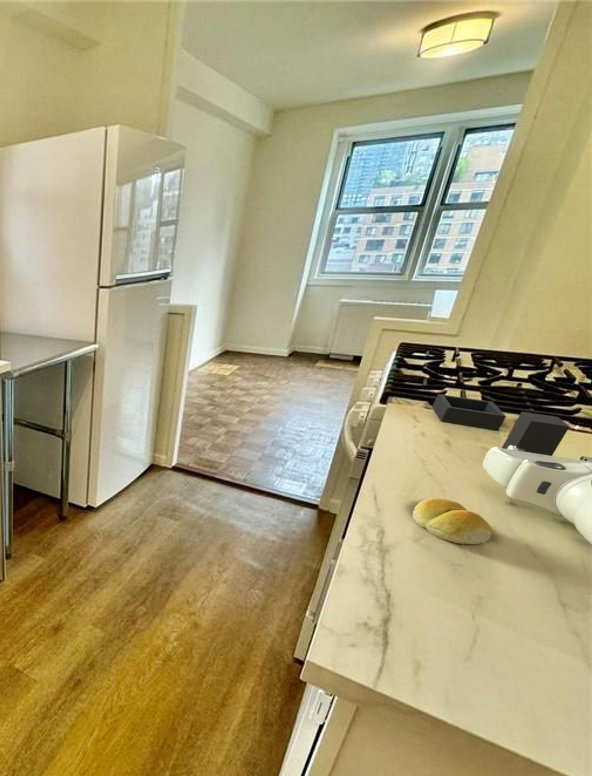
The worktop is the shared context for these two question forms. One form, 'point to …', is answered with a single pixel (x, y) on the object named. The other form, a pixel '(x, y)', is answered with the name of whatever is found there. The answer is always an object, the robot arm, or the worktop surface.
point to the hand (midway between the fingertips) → (547, 455)
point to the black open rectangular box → (468, 412)
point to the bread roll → (451, 521)
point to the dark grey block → (537, 433)
